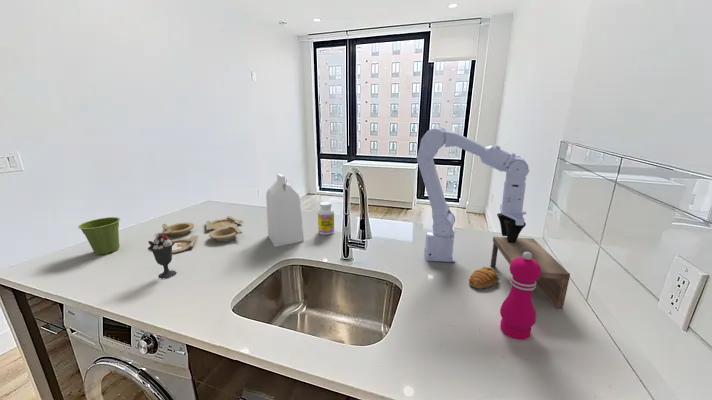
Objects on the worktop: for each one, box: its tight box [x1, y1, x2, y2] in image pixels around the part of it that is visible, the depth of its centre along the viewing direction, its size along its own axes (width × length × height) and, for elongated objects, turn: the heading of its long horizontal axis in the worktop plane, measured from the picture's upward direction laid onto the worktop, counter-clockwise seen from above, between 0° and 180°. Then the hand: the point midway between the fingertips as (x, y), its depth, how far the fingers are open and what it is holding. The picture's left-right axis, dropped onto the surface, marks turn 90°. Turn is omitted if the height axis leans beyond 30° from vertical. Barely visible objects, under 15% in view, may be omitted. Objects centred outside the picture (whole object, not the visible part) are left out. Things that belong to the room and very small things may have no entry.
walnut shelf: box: [490, 236, 571, 310], centre depth 88 cm, size 12×22×10 cm, turn 172°
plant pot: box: [77, 216, 121, 256], centre depth 112 cm, size 12×12×11 cm
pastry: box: [468, 266, 500, 290], centre depth 90 cm, size 9×7×4 cm
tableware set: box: [161, 215, 244, 255], centre depth 126 cm, size 35×29×4 cm
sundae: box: [147, 229, 177, 280], centre depth 94 cm, size 7×7×15 cm
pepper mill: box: [499, 252, 541, 341], centre depth 68 cm, size 7×7×20 cm
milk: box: [265, 173, 305, 247], centre depth 119 cm, size 12×12×26 cm
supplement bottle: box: [317, 201, 335, 236], centre depth 127 cm, size 7×7×13 cm
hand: (508, 238), depth 96 cm, fingers open, 5 cm apart
